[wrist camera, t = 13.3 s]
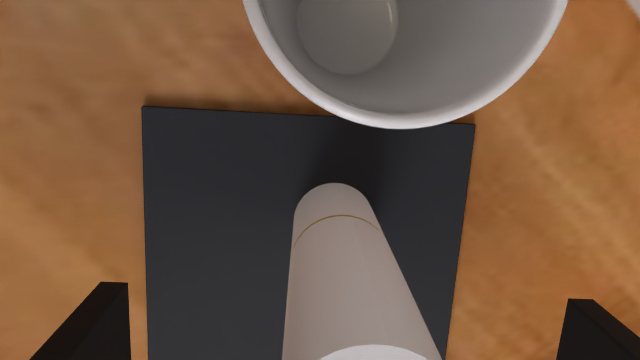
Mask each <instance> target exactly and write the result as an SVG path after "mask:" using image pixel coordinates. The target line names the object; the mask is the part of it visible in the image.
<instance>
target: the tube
mask: <svg viewBox="0 0 640 360" xmlns="http://www.w3.org/2000/svg"><path fill="white" fill-rule="evenodd" d="M282 360H442V358H441V356H440V354H439V352H438V350H437V348H436V346H435V343H434V341H433V339H432V337H431V335H430V333H429V330H428V328H427V326H426V324H425V322H424V320H423V318H422V315H421V313H420V311H419V309H418V307H417V305H416V302H415V300H414V298H413V296H412V294H411V292H410V290H409V287H408V285H407V283H406V281H405V279H404V277H403V274H402V272H401V270H400V268H399V266H398V264H397V262H396V259H395V257H394V255H393V253H392V251H391V249H390V247H389V244H388V242H387V240H386V238H385V236H384V234H383V232H382V229H381V227H380V225H379V223H378V221H377V219H376V216H375V214H374V212H373V210H372V208H371V206H370V204H369V202H368V200H367V199H366V198H365V197H364V195H363V194H362V193H361V192H359V191H358V190H357V189H355V188H353V187H351V186H349V185H345V184H342V183H327V184H323V185H320V186H317V187H315V188H314V189H312V190H310V191H309V192H308V193H307V194H305V195H304V197H303V198H302V199H301V200H300V202H299V204H298V205H297V207H296V210H295V214H294V223H293V235H292V247H291V257H290V269H289V281H288V293H287V305H286V317H285V329H284V341H283V353H282Z"/></svg>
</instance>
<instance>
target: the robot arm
mask: <svg viewBox="0 0 640 360" xmlns="http://www.w3.org/2000/svg"><path fill="white" fill-rule="evenodd" d="M30 360H131V347H130V323H129V299H128V283H122V282H100V283H99V284H98V285H97V286H96V288H95V289H94V290H93V291H92V292H91V293H90V294H89V295H88V296H87V297H86V298H85V300H84V301H83V302H82V303H81V304H80V305H79V306H78V307H77V308H76V309H75V310H74V312H73V313H72V314H71V315H70V316H69V317H68V318H67V319H66V320H65V321H64V323H63V324H62V325H61V326H60V327H59V328H58V329H57V330H56V331H55V332H54V333H53V335H52V336H51V337H50V338H49V339H48V340H47V341H46V342H45V343H44V344H43V345H42V347H41V348H40V349H39V350H38V351H37V352H36V353H35V354H34V355H33V356H32V357H31V359H30ZM556 360H640V338H639V337H638V336H637V335H636V334H634V333H633V332H632V331H631V330H630V329H628V328H627V327H626V326H625V325H623V324H622V323H621V322H620V321H619V320H617V319H616V318H615V317H614V316H612V315H611V314H610V313H609V312H608V311H606V310H605V309H604V308H603V307H601V306H600V305H599V304H598V303H597V302H595V301H594V300H593V299H568V303H567V308H566V313H565V318H564V323H563V328H562V333H561V338H560V343H559V348H558V353H557V358H556Z"/></svg>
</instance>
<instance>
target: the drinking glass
mask: <svg viewBox="0 0 640 360" xmlns="http://www.w3.org/2000/svg"><path fill="white" fill-rule="evenodd" d="M242 1H243V5H244V8H245V11H246V14H247V17H248V20H249V22H250V25H251V27H252V29H253V31H254V34H255V36H256V38H257V40H258V42H259V43H260V45H261V47H262V48H263V50H264V52H265V53H266V55H267V57H268V58H269V59H270V61H271V62H272V63H273V65H274V66H275V67H276V69H277V70H278V71H279V72H280V73H281V74H282V76H283V77H284V78H285V79H286V80H287V81H288V82H289V83H290V84H291V85H292V86H293V87H294V88H295V89H297V90H298V91H299V92H300V93H301V94H302V95H304V96H305V97H306V98H308V99H309V100H310V101H312V102H313V103H315V104H317V105H318V106H320V107H321V108H323V109H325V110H326V111H329V112H331V113H333V114H335V115H337V116H339V117H341V118H344V119H347V120H350V121H352V122H355V123H359V124H363V125H367V126H372V127H379V128H386V129H415V128H423V127H429V126H434V125H438V124H442V123H446V122H449V121H452V120H455V119H458V118H461V117H463V116H465V115H468V114H470V113H472V112H474V111H476V110H478V109H480V108H481V107H483V106H485V105H487V104H488V103H490V102H492V101H493V100H494V99H496V98H497V97H499V96H500V95H501V94H503V93H504V92H505V91H507V90H508V89H509V88H510V87H511V86H512V85H514V84H515V83H516V82H517V81H518V80H519V79H520V78H521V77H522V76H523V75H524V74H525V73H526V72H527V71H528V70H529V69H530V67H531V66H532V65H533V64H534V62H535V61H536V60H537V59H538V57H539V56H540V55H541V53H542V52H543V50H544V49H545V47H546V46H547V44H548V43H549V41H550V40H551V38H552V36H553V34H554V32H555V31H556V29H557V27H558V25H559V23H560V20H561V18H562V16H563V14H564V11H565V9H566V6H567V3H568V0H242Z"/></svg>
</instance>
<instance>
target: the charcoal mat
mask: <svg viewBox="0 0 640 360" xmlns="http://www.w3.org/2000/svg"><path fill="white" fill-rule="evenodd" d="M141 110H142V147H143V184H144V221H145V257H146V294H147V331H148V360H282V353H283V341H284V329H285V317H286V305H287V293H288V281H289V269H290V257H291V247H292V235H293V223H294V214H295V210H296V207H297V205H298V204H299V202H300V200H301V199H302V198H303V197H304V195H305V194H307V193H308V192H309V191H310V190H312V189H314V188H315V187H317V186H320V185H323V184H327V183H342V184H345V185H349V186H351V187H353V188H355V189H357V190H358V191H359V192H361V193H362V194H363V195H364V197H365V198H366V199H367V200H368V202H369V204H370V206H371V208H372V210H373V212H374V214H375V216H376V219H377V221H378V223H379V225H380V227H381V229H382V232H383V234H384V236H385V238H386V240H387V242H388V244H389V247H390V249H391V251H392V253H393V255H394V257H395V259H396V262H397V264H398V266H399V268H400V270H401V272H402V274H403V277H404V279H405V281H406V283H407V285H408V287H409V290H410V292H411V294H412V296H413V298H414V300H415V302H416V305H417V307H418V309H419V311H420V313H421V315H422V318H423V320H424V322H425V324H426V326H427V328H428V330H429V333H430V335H431V337H432V339H433V341H434V343H435V346H436V348H437V350H438V352H439V354H440V356H441V358H442V360H445V356H446V348H447V340H448V333H449V325H450V318H451V310H452V302H453V295H454V287H455V279H456V272H457V264H458V256H459V249H460V241H461V234H462V226H463V218H464V211H465V203H466V195H467V188H468V180H469V173H470V165H471V157H472V150H473V142H474V134H475V127H476V125H475V124H466V123H448V122H446V123H442V124H438V125H434V126H429V127H423V128H415V129H386V128H379V127H372V126H367V125H363V124H359V123H355V122H352V121H350V120H347V119H344V118H341V117H338V116H320V115H302V114H284V113H266V112H247V111H229V110H211V109H193V108H174V107H156V106H142V107H141Z"/></svg>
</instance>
